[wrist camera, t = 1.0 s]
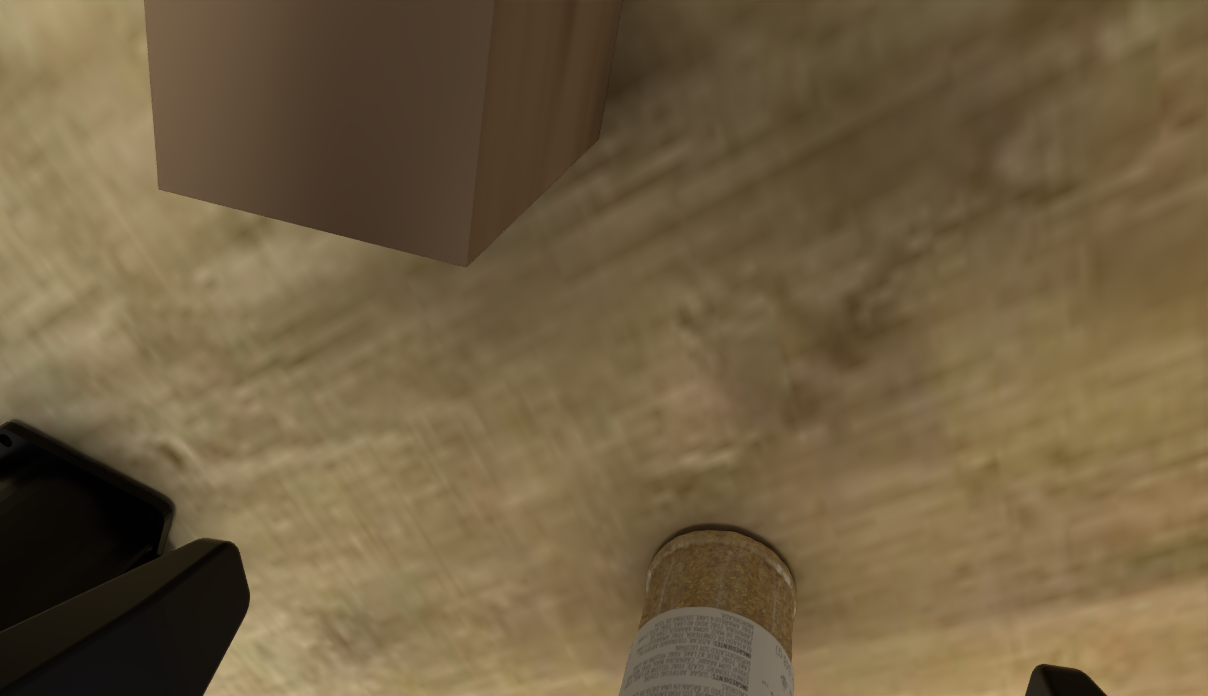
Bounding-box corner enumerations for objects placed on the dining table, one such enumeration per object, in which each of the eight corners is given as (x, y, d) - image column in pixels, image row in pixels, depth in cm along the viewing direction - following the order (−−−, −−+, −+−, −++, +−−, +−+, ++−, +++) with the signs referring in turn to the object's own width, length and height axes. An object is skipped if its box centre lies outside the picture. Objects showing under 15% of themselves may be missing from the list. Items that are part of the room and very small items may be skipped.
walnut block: (404, 94, 21) (158, 189, 13) (418, -135, 18) (128, -191, 11) (598, 139, 20) (466, 267, 12) (638, -91, 18) (506, -116, 10)
